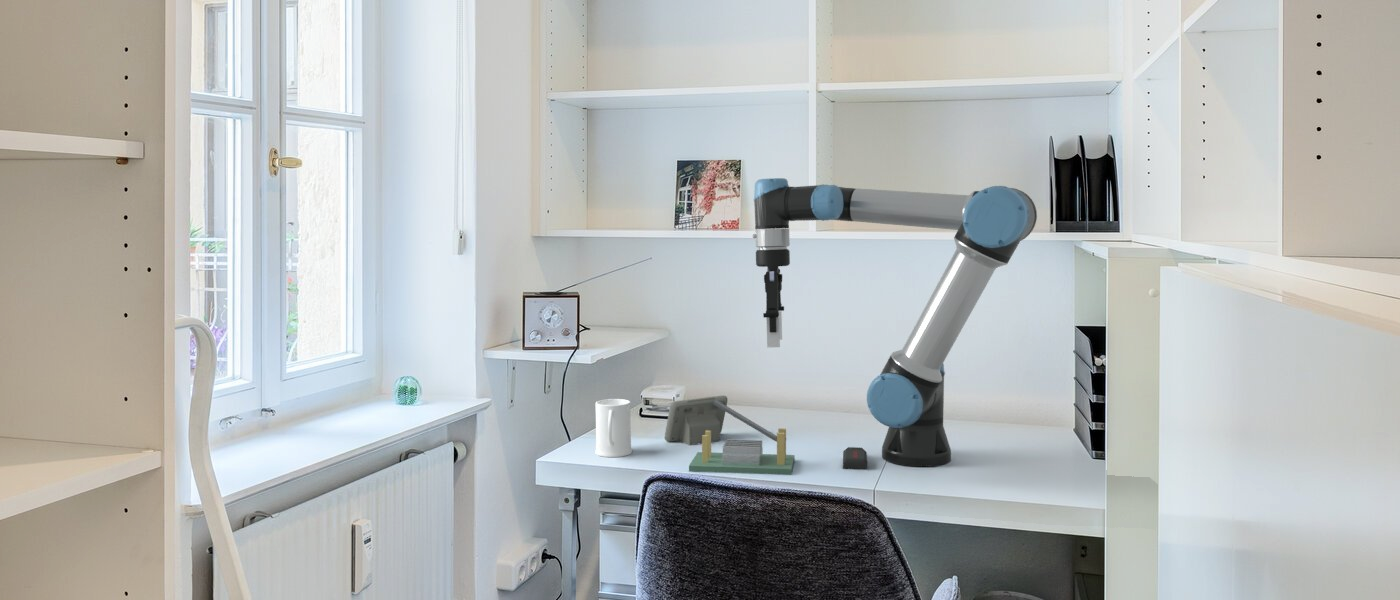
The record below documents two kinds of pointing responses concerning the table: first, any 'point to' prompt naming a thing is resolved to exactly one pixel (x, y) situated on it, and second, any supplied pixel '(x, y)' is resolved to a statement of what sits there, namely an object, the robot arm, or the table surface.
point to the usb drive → (855, 458)
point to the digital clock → (695, 419)
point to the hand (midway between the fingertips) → (774, 343)
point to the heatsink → (742, 452)
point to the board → (768, 465)
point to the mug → (613, 428)
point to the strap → (745, 420)
